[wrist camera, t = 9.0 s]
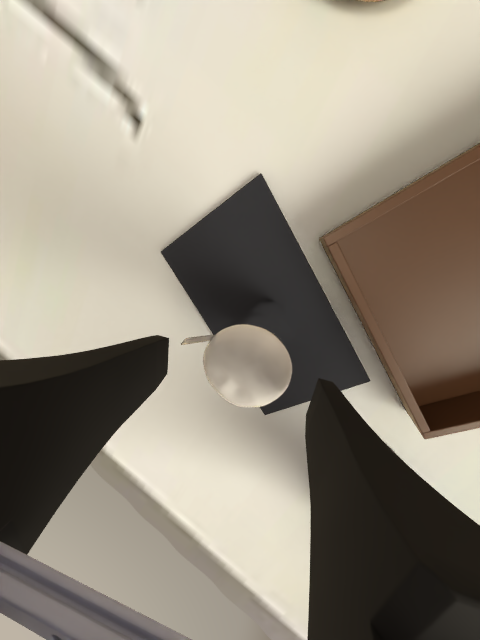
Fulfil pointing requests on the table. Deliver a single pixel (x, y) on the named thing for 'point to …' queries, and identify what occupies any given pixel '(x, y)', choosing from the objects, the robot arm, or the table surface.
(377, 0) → the ladybug figurine
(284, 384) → the milkshake
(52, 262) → the table surface
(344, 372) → the mouse pad
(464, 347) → the tray
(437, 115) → the table surface
